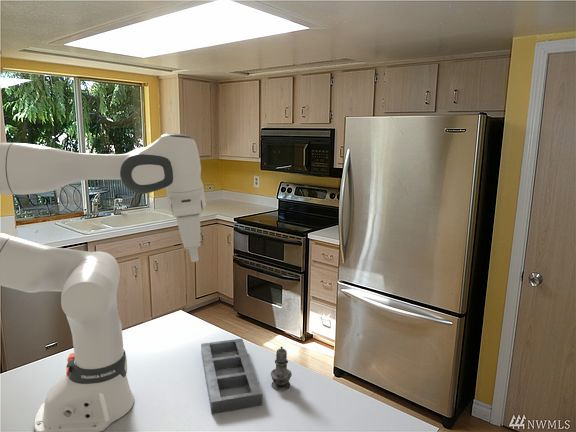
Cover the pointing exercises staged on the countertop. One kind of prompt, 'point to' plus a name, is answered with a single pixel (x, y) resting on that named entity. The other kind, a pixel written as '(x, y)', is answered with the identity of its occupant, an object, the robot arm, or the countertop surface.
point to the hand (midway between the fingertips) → (194, 254)
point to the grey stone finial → (281, 372)
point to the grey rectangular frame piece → (230, 376)
